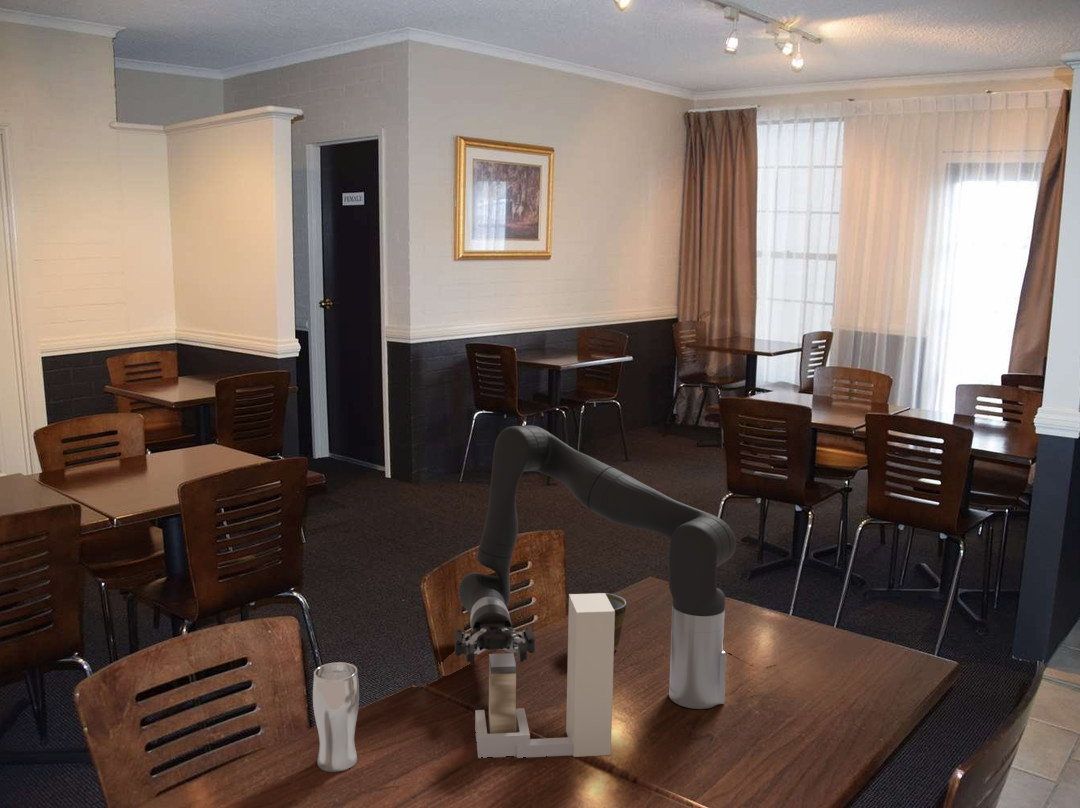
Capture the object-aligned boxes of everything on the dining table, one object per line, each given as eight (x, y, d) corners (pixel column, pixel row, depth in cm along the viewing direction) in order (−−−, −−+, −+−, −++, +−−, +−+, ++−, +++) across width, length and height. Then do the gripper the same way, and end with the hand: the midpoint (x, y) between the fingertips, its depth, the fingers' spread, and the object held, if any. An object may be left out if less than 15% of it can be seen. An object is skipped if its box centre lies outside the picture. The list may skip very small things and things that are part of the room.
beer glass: (349, 776, 141) (347, 683, 138) (306, 770, 142) (304, 678, 140) (366, 753, 147) (365, 663, 145) (325, 748, 149) (324, 659, 147)
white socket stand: (599, 724, 158) (602, 589, 154) (610, 754, 148) (614, 611, 144) (475, 730, 155) (475, 592, 152) (478, 761, 145) (479, 615, 142)
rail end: (512, 732, 155) (513, 653, 152) (515, 748, 150) (516, 666, 147) (488, 733, 154) (489, 654, 152) (490, 749, 149) (490, 667, 147)
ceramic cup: (593, 634, 196) (594, 589, 194) (634, 646, 190) (635, 599, 189) (558, 654, 186) (559, 607, 184) (600, 668, 180) (601, 618, 178)
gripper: (452, 604, 174) (456, 639, 158) (528, 602, 176) (538, 636, 160) (452, 642, 175) (455, 680, 159) (527, 639, 177) (538, 677, 161)
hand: (497, 658), depth 160 cm, fingers open, 8 cm apart
